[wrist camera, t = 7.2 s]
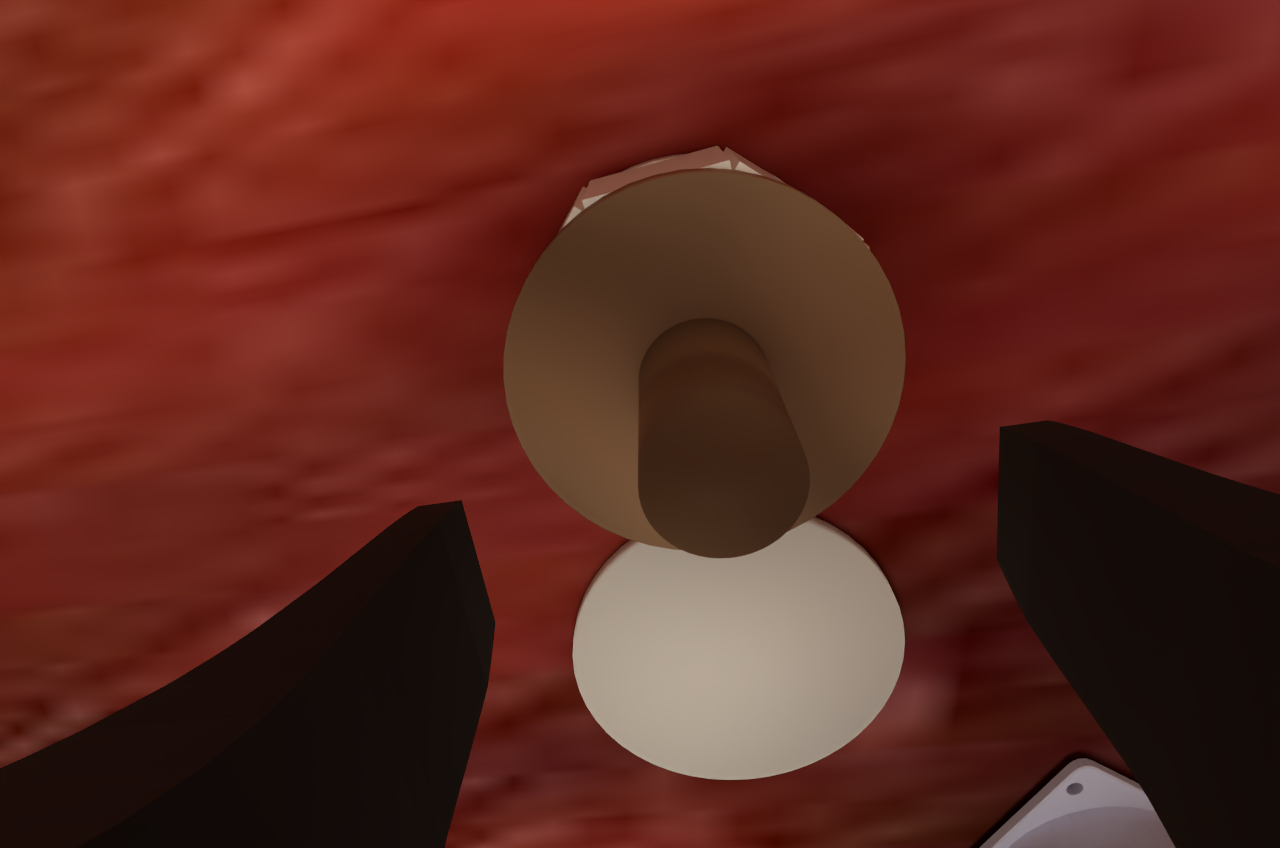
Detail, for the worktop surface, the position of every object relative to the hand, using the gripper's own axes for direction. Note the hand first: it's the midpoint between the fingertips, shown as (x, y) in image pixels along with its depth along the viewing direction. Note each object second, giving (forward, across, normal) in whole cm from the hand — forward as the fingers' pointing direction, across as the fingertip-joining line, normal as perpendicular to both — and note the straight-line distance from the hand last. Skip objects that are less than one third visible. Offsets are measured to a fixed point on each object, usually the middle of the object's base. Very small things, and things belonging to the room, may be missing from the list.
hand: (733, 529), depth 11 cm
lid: (+7, 0, 0) cm, 7 cm away
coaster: (+10, 0, +10) cm, 14 cm away
